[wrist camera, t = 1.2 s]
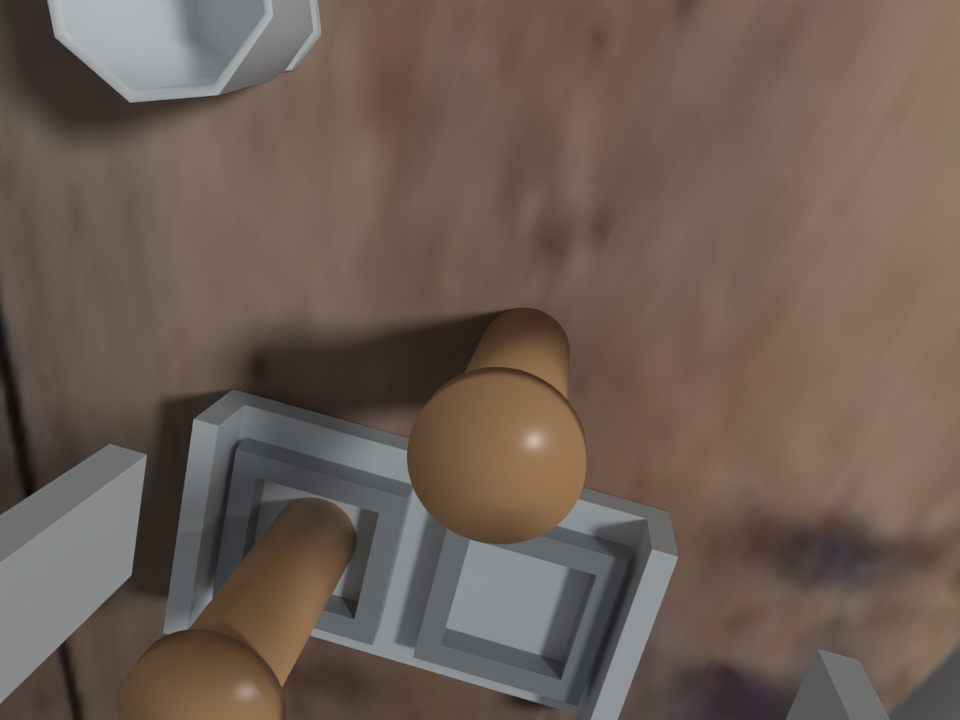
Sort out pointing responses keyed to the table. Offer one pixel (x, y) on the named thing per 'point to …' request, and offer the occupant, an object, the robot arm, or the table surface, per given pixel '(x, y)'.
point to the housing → (426, 560)
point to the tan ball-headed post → (502, 436)
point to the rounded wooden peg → (247, 626)
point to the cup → (186, 42)
